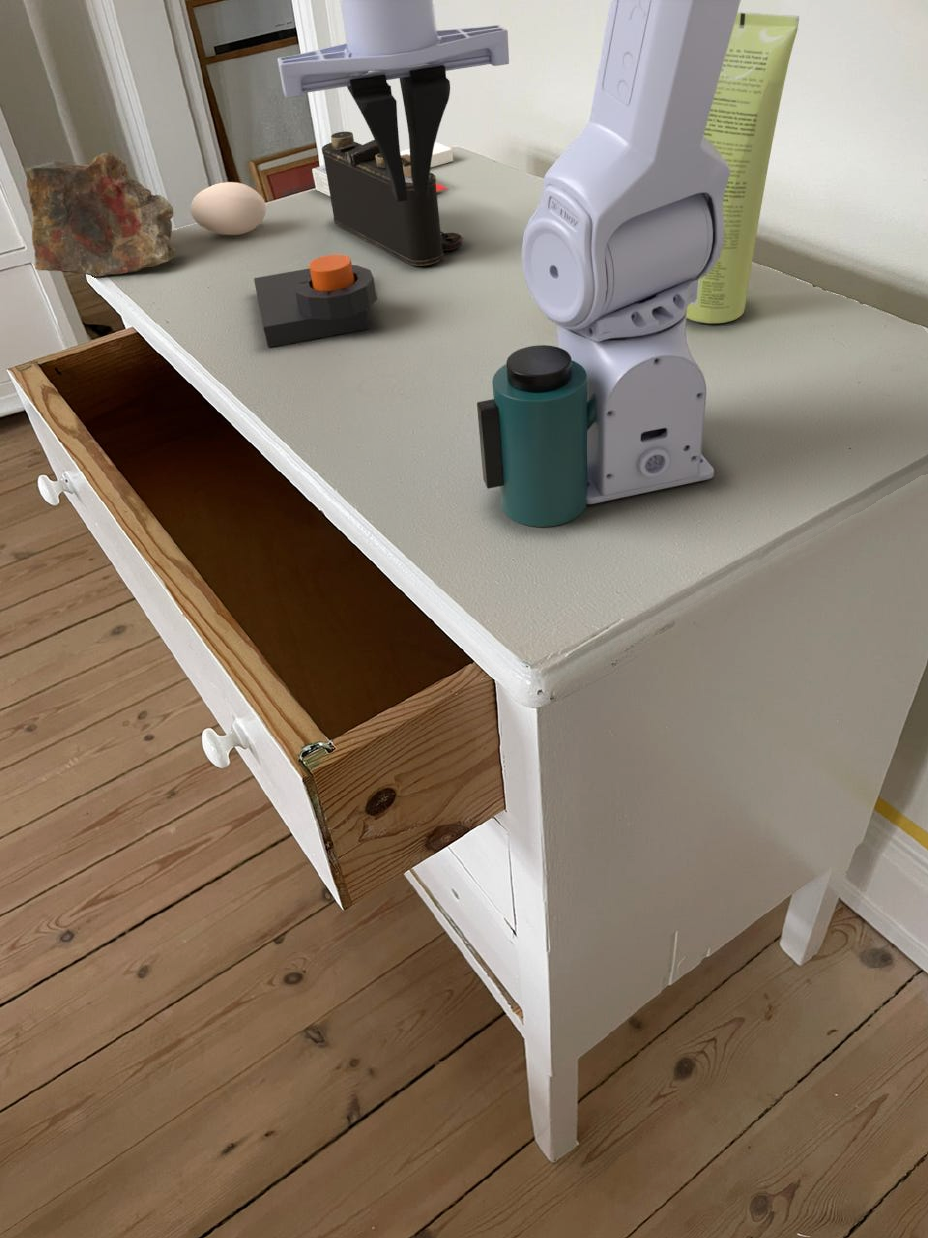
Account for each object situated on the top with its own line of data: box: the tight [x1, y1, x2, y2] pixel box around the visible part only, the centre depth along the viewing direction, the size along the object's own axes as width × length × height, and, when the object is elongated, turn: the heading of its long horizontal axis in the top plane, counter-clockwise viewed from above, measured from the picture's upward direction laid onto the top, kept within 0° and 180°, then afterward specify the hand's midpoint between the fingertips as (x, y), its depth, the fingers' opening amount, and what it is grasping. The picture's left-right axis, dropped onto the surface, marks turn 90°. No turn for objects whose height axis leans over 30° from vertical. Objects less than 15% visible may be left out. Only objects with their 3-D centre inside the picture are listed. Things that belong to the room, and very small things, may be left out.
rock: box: [26, 151, 176, 277], centre depth 89 cm, size 12×12×10 cm
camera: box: [321, 131, 464, 267], centre depth 87 cm, size 16×7×8 cm, turn 34°
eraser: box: [400, 141, 454, 169], centre depth 105 cm, size 1×5×4 cm
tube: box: [686, 11, 800, 324], centre depth 66 cm, size 6×5×20 cm
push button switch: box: [253, 264, 378, 348], centre depth 78 cm, size 11×9×4 cm
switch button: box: [308, 254, 354, 291], centre depth 74 cm, size 3×3×2 cm
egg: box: [190, 181, 267, 236], centre depth 93 cm, size 5×5×7 cm
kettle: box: [476, 344, 597, 528], centre depth 54 cm, size 5×8×9 cm, turn 103°
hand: (410, 194), depth 67 cm, fingers closed
